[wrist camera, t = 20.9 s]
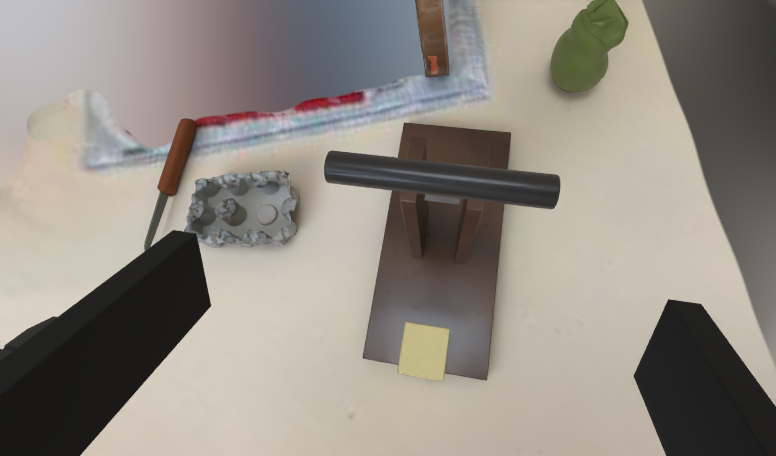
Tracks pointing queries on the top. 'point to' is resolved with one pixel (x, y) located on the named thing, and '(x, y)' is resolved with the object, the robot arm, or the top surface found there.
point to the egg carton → (243, 209)
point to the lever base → (440, 255)
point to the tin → (433, 37)
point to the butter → (424, 351)
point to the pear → (588, 46)
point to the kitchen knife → (171, 172)
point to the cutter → (443, 180)
